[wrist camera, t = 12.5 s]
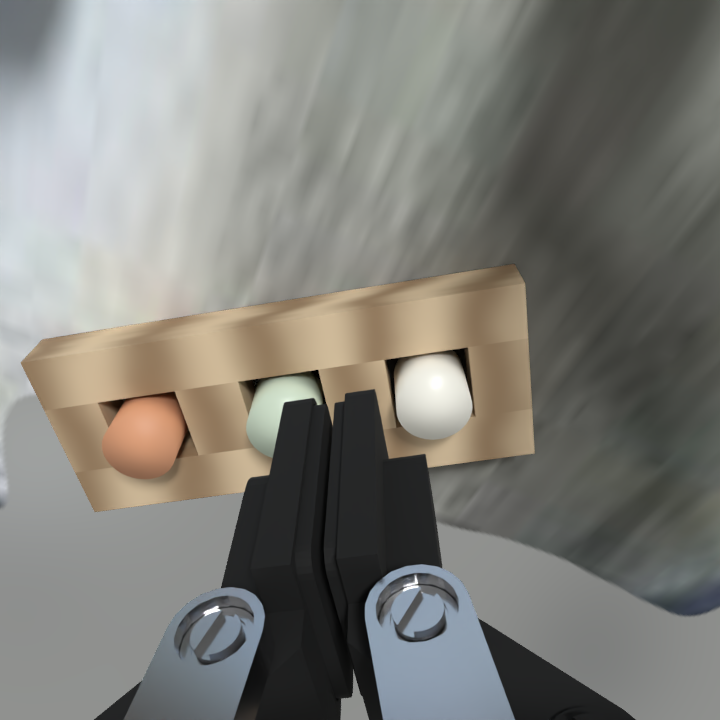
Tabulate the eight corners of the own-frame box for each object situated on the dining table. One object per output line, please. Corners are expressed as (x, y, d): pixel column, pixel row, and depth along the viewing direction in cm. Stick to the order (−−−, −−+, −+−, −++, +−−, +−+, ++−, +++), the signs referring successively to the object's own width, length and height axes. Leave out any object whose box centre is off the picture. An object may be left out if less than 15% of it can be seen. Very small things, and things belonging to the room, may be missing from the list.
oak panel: (514, 263, 39) (525, 283, 36) (524, 426, 45) (534, 453, 42) (42, 339, 42) (20, 362, 39) (109, 483, 47) (94, 512, 45)
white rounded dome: (459, 338, 40) (468, 371, 36) (466, 397, 42) (475, 434, 39) (388, 349, 40) (391, 382, 37) (399, 407, 42) (402, 444, 39)
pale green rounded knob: (316, 360, 41) (311, 394, 37) (330, 417, 43) (327, 454, 39) (248, 370, 41) (237, 404, 38) (265, 426, 43) (256, 464, 40)
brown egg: (178, 380, 42) (161, 416, 38) (199, 436, 44) (184, 474, 40) (113, 390, 42) (90, 426, 38) (136, 444, 44) (117, 483, 41)
